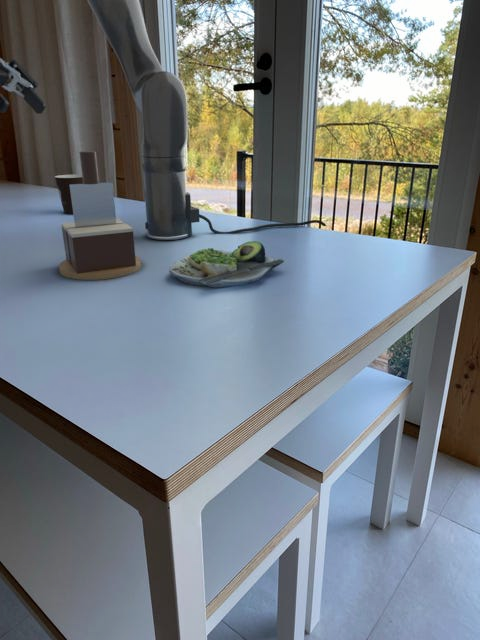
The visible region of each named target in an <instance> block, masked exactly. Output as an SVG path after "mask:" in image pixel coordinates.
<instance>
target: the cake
mask: <svg viewBox="0 0 480 640" xmlns="http://www.w3.org/2000/svg"><path fill="white" fill-rule="evenodd" d="M60 225H61V230H62V231H61V232H62V239H63V245H64V252H65V259H64V260H63V261H61V262H60V263H59V264H58V270H59V274H60V275H62V276H63V277H66V278H68V279H73V280H82V281H99V280H110V279H116V278H121V277H124V276H125V277H126V276H128V275H131V274H134V273H135V272H138V271H139V270H140V269H141V266H142V263H141V262H142V261H141V258H139V257H138V256H137V255H136V249H135V248H136V247H135V238H134V228H133V227H132V226H131V225H128V224H127V223H125V222H124V221H123V220H121V219H119V218H118V217H116V224H106V225H95V226H84V227H75V222H74V221H71V222H70V221H69V222H61V223H60Z"/></svg>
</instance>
